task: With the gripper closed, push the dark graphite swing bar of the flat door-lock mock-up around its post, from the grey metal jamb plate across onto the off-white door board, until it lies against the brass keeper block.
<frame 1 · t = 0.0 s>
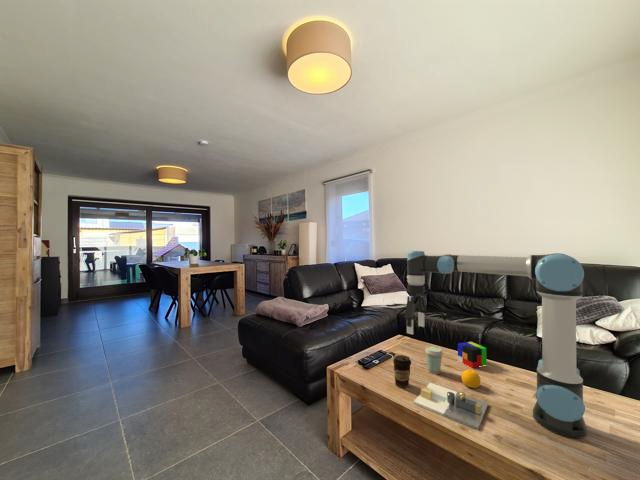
hand: (415, 329, 122), 28 cm above the table, fingers open, 13 cm apart
jamb plate: (466, 410, 108), on the table
orange: (470, 386, 126), on the table
swing bar: (468, 401, 107), point 4 cm above the table, hinge at 0.0°
coffee cup: (402, 385, 127), on the table
puzzle toy: (471, 363, 150), on the table
coffee cup 2: (433, 371, 140), on the table
pivot post: (450, 404, 112), on the table
door board: (436, 398, 116), on the table
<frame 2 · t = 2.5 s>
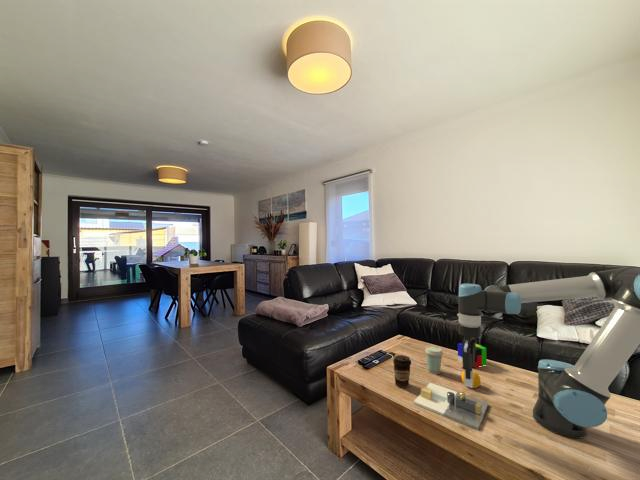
hand: (468, 386, 101), 14 cm above the table, fingers closed
nothing on the table moved.
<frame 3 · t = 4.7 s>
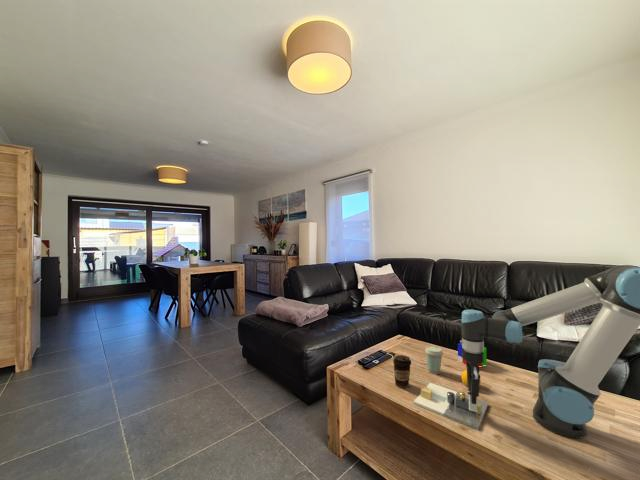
hand: (473, 410, 104), 2 cm above the table, fingers closed
swing bar: (468, 401, 107), point 4 cm above the table, hinge at 0.6°, touching gripper
everything else where it was.
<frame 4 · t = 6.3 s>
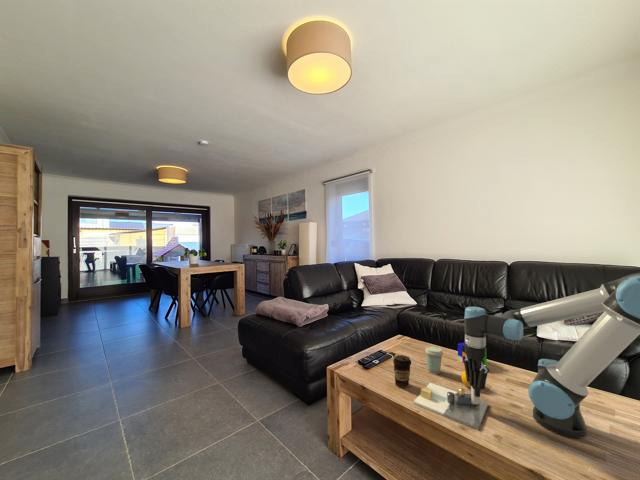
hand: (475, 402, 109), 3 cm above the table, fingers closed
swing bar: (467, 396, 111), point 4 cm above the table, hinge at 37.2°, touching gripper
everything else where it was.
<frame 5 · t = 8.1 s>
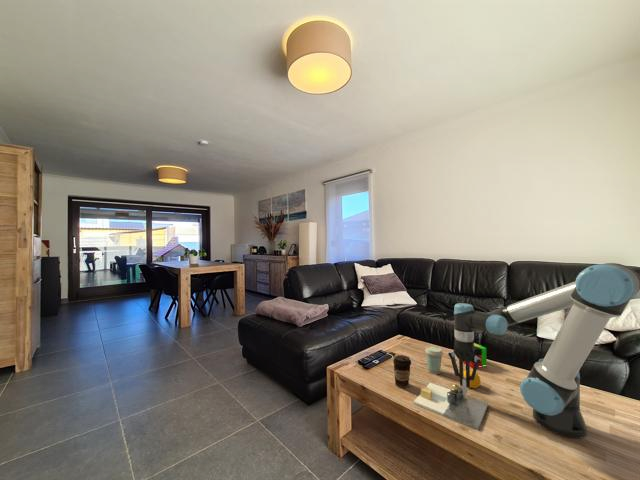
hand: (464, 393, 116), 2 cm above the table, fingers closed
swing bar: (457, 389, 116), point 4 cm above the table, hinge at 82.5°, touching gripper
everything else where it was.
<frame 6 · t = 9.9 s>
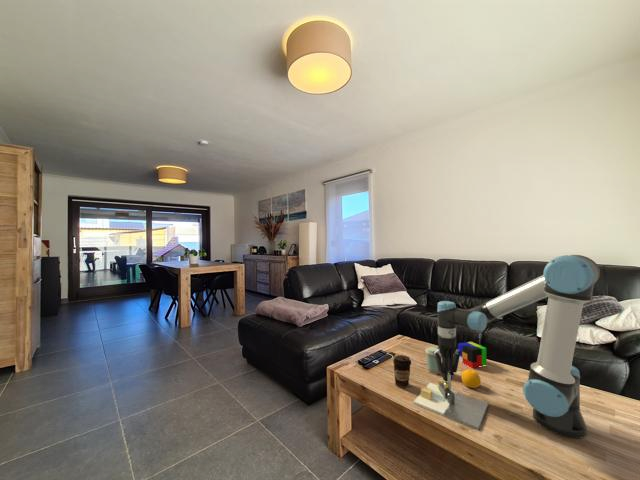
hand: (448, 387, 120), 2 cm above the table, fingers closed
swing bar: (444, 386, 118), point 4 cm above the table, hinge at 128.0°, touching gripper
everything else where it was.
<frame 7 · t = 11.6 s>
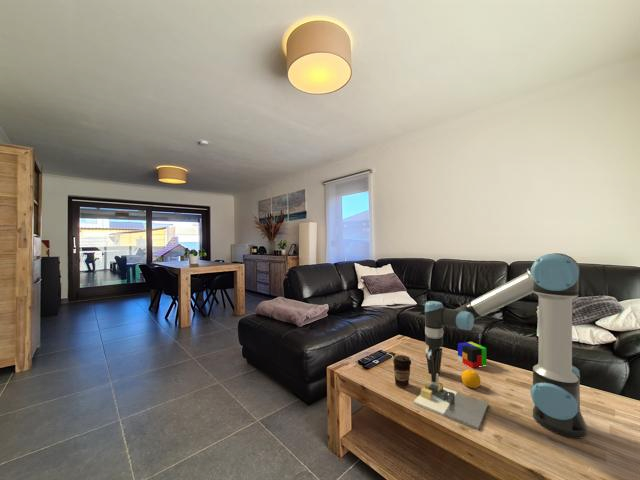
hand: (434, 387, 120), 2 cm above the table, fingers closed
swing bar: (436, 388, 117), point 4 cm above the table, hinge at 167.0°, touching gripper
everything else where it was.
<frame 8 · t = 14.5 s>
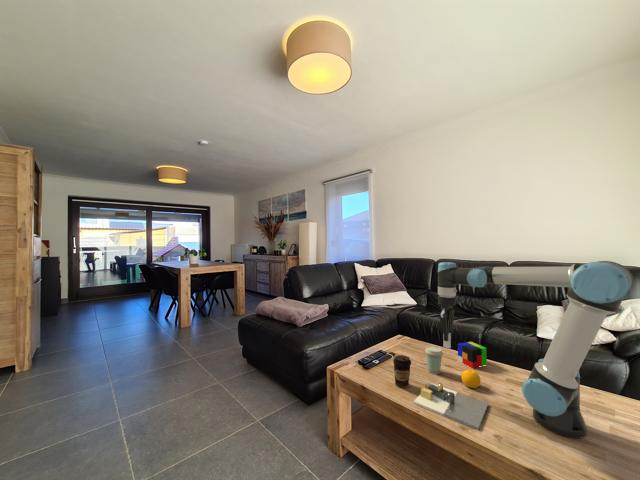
hand: (447, 347, 121), 20 cm above the table, fingers closed
swing bar: (436, 388, 117), point 4 cm above the table, hinge at 167.0°
everything else where it was.
at the end: swing bar at +167° (first picture: +0°); the gripper is holding nothing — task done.
